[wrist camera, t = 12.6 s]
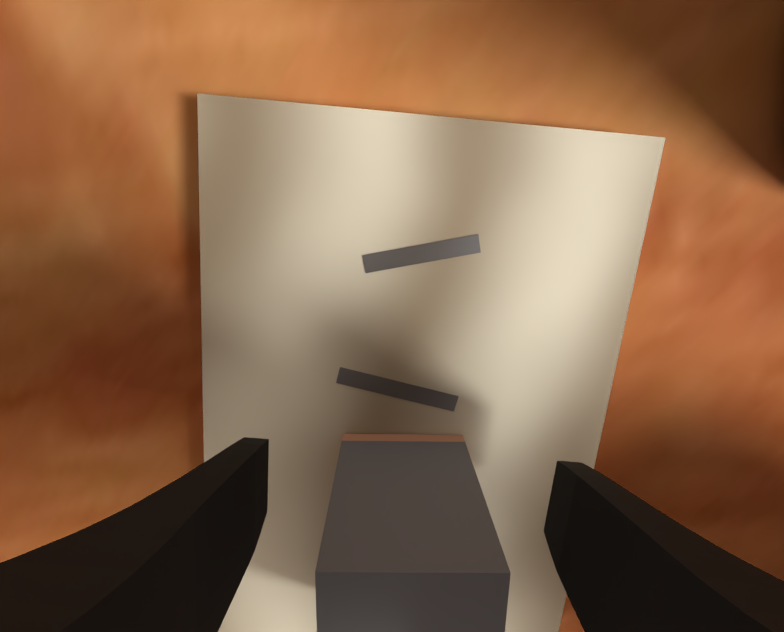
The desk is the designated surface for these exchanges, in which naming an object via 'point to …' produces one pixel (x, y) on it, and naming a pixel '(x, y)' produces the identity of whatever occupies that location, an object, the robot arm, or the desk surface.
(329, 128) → the cream flat board
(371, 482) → the block
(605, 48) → the desk surface
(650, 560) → the robot arm
